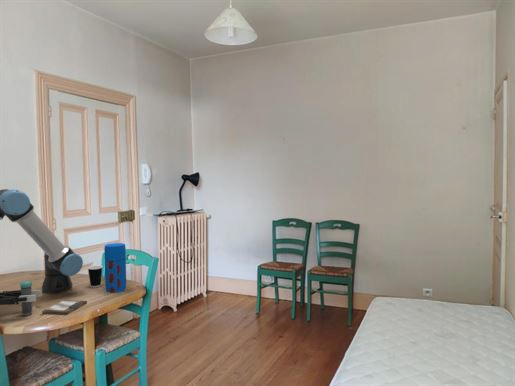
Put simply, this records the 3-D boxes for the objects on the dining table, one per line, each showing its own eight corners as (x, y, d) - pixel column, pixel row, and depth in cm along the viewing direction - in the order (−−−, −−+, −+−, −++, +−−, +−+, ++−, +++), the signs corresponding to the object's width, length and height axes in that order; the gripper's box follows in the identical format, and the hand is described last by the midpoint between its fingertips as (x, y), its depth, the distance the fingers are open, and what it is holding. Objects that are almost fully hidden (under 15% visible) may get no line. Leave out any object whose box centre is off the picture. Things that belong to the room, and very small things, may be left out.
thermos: (112, 286, 218) (111, 242, 216) (130, 287, 215) (129, 243, 214) (101, 292, 207) (100, 246, 206) (119, 293, 205) (118, 246, 204)
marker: (26, 312, 176) (25, 280, 175) (34, 313, 175) (33, 280, 175) (19, 316, 172) (17, 283, 171) (27, 316, 171) (26, 283, 170)
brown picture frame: (64, 302, 190) (64, 297, 190) (86, 303, 189) (86, 298, 189) (42, 313, 175) (42, 309, 175) (66, 314, 173) (66, 310, 173)
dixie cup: (88, 285, 220) (87, 266, 220) (103, 283, 223) (102, 265, 223) (87, 289, 213) (87, 269, 213) (103, 287, 216) (102, 268, 216)
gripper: (-8, 300, 179) (46, 297, 184) (-30, 315, 160) (30, 311, 165) (-9, 284, 179) (45, 281, 184) (-31, 297, 159) (30, 293, 164)
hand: (38, 295), depth 174 cm, fingers open, 7 cm apart
